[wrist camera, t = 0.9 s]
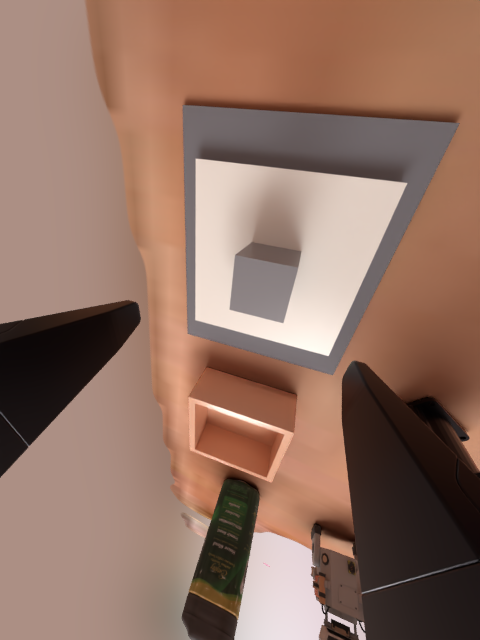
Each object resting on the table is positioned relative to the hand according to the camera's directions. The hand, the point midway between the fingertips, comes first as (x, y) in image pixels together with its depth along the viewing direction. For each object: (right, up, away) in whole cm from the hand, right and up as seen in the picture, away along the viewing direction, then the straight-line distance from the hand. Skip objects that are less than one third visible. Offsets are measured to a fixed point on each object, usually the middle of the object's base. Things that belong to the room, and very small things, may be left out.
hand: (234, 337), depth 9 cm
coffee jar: (+1, -34, +35) cm, 49 cm away
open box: (+1, -12, +21) cm, 25 cm away
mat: (+3, +6, +10) cm, 12 cm away
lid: (+3, +5, +10) cm, 12 cm away
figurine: (+19, -43, +34) cm, 58 cm away
